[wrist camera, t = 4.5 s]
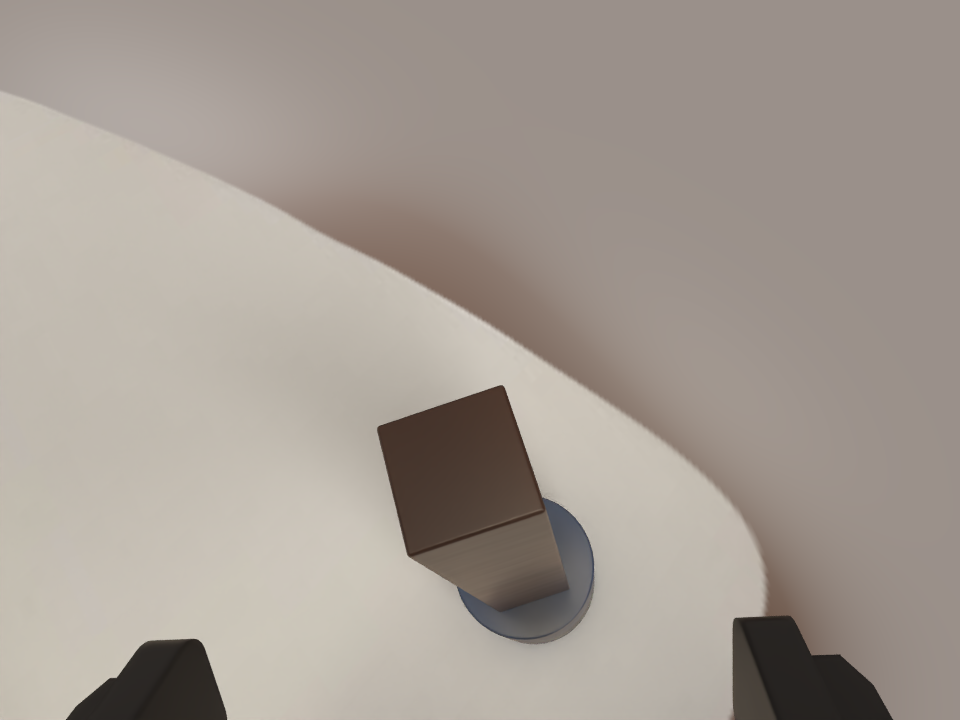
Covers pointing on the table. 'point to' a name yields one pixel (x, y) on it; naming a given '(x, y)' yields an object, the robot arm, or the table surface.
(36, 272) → the table surface
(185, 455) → the table surface
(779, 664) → the robot arm
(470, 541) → the brush
